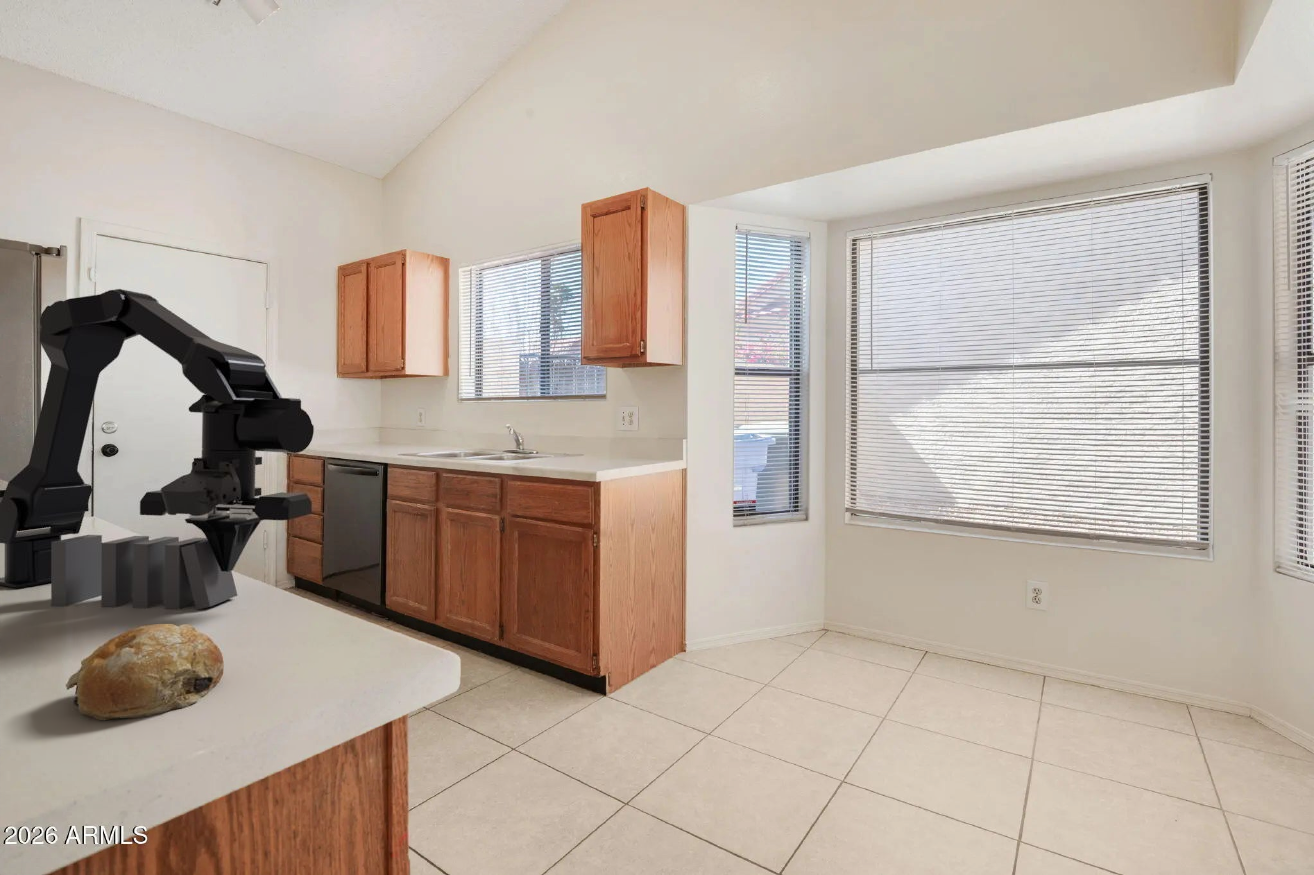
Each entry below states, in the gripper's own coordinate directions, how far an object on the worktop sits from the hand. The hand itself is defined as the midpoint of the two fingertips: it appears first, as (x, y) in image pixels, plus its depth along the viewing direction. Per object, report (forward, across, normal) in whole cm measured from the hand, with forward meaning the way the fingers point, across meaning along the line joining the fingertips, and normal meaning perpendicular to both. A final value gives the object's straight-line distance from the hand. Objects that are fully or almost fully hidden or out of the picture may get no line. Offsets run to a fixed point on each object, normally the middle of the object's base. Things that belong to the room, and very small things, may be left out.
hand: (227, 571), depth 81 cm
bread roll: (+4, +12, -26) cm, 29 cm away
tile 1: (+4, -19, 0) cm, 20 cm away
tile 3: (+4, -9, 0) cm, 10 cm away
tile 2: (+4, -13, 0) cm, 14 cm away
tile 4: (+4, -5, 0) cm, 7 cm away
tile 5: (+4, -1, 0) cm, 4 cm away
